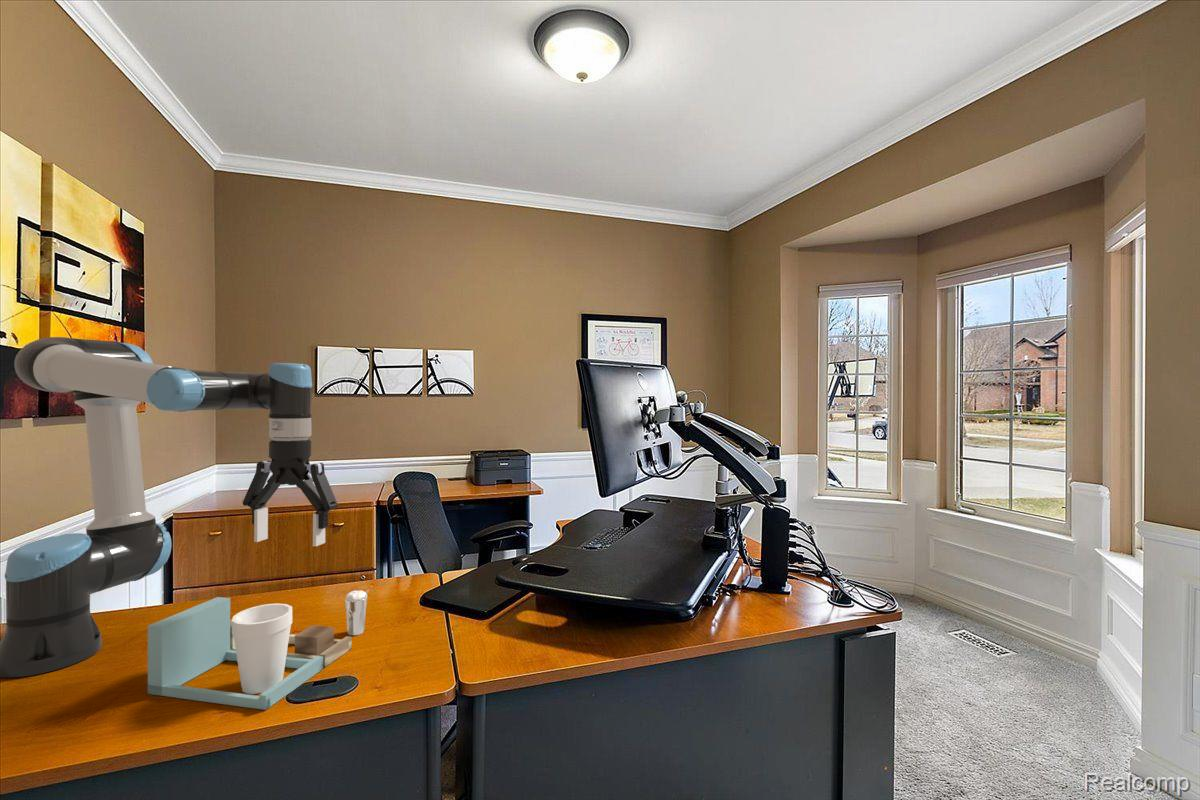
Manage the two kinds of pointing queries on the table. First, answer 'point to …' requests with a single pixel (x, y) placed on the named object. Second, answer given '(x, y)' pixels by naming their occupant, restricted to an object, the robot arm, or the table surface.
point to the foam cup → (261, 645)
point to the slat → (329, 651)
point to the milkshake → (356, 611)
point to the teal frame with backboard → (208, 657)
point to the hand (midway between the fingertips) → (289, 542)
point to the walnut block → (314, 640)
